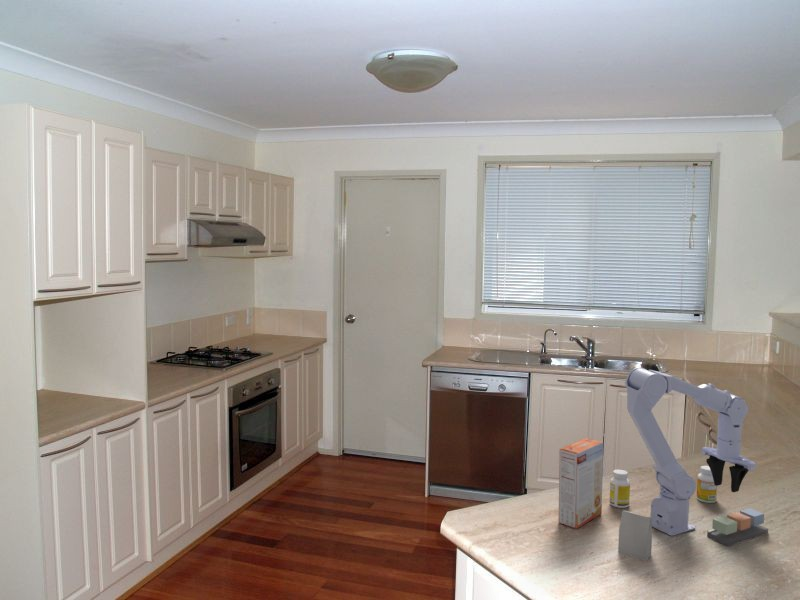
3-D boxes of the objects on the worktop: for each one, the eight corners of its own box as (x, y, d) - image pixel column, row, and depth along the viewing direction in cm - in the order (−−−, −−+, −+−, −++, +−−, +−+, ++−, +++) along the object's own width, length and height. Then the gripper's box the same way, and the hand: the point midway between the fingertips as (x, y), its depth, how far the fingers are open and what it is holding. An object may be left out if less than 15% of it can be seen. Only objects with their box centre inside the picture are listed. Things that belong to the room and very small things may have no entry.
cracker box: (582, 508, 183) (585, 436, 182) (602, 514, 179) (605, 441, 177) (556, 522, 174) (558, 447, 172) (576, 530, 169) (578, 452, 167)
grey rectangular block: (646, 560, 153) (648, 520, 153) (618, 552, 158) (619, 512, 157) (651, 555, 156) (652, 515, 155) (623, 546, 161) (625, 507, 160)
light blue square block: (754, 526, 167) (754, 516, 167) (739, 520, 171) (740, 510, 170) (763, 523, 169) (764, 513, 169) (749, 517, 172) (749, 508, 172)
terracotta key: (740, 530, 164) (741, 520, 164) (726, 524, 168) (726, 514, 168) (750, 527, 166) (750, 517, 166) (736, 521, 170) (736, 511, 170)
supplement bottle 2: (699, 494, 194) (700, 463, 193) (718, 499, 191) (720, 467, 190) (694, 500, 190) (695, 468, 189) (713, 505, 186) (715, 472, 185)
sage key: (726, 534, 162) (727, 525, 162) (712, 528, 165) (712, 518, 165) (736, 531, 164) (737, 521, 164) (722, 525, 167) (723, 515, 167)
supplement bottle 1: (632, 504, 186) (633, 471, 185) (624, 510, 182) (625, 476, 181) (614, 499, 190) (615, 467, 189) (606, 504, 186) (607, 471, 185)
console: (728, 546, 161) (728, 540, 161) (707, 536, 166) (707, 530, 166) (767, 533, 168) (768, 527, 168) (746, 524, 174) (746, 518, 174)
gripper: (764, 444, 167) (761, 494, 169) (714, 429, 180) (712, 476, 181) (747, 448, 164) (744, 499, 165) (697, 433, 177) (695, 480, 178)
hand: (726, 488), depth 173 cm, fingers open, 4 cm apart
